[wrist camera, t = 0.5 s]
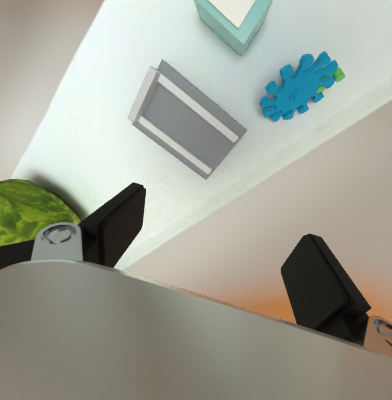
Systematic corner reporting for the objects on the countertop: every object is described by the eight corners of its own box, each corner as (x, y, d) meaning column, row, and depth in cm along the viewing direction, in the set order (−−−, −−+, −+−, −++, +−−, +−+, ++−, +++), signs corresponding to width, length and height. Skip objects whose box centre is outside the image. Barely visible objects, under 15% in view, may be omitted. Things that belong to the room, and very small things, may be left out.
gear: (259, 131, 31) (268, 75, 21) (249, 106, 33) (254, 45, 24) (327, 111, 29) (369, 42, 20) (312, 86, 31) (344, 13, 22)
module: (221, -23, 24) (219, -62, 19) (264, 19, 25) (274, -5, 20) (200, 19, 27) (192, -5, 21) (241, 56, 28) (243, 43, 22)
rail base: (164, 61, 30) (155, 54, 26) (246, 129, 32) (248, 132, 28) (135, 123, 35) (123, 126, 31) (206, 177, 38) (204, 185, 34)
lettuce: (88, 250, 56) (31, 308, 40) (20, 201, 51) (-76, 245, 35) (115, 219, 48) (57, 276, 32) (37, 158, 43) (-78, 189, 27)
